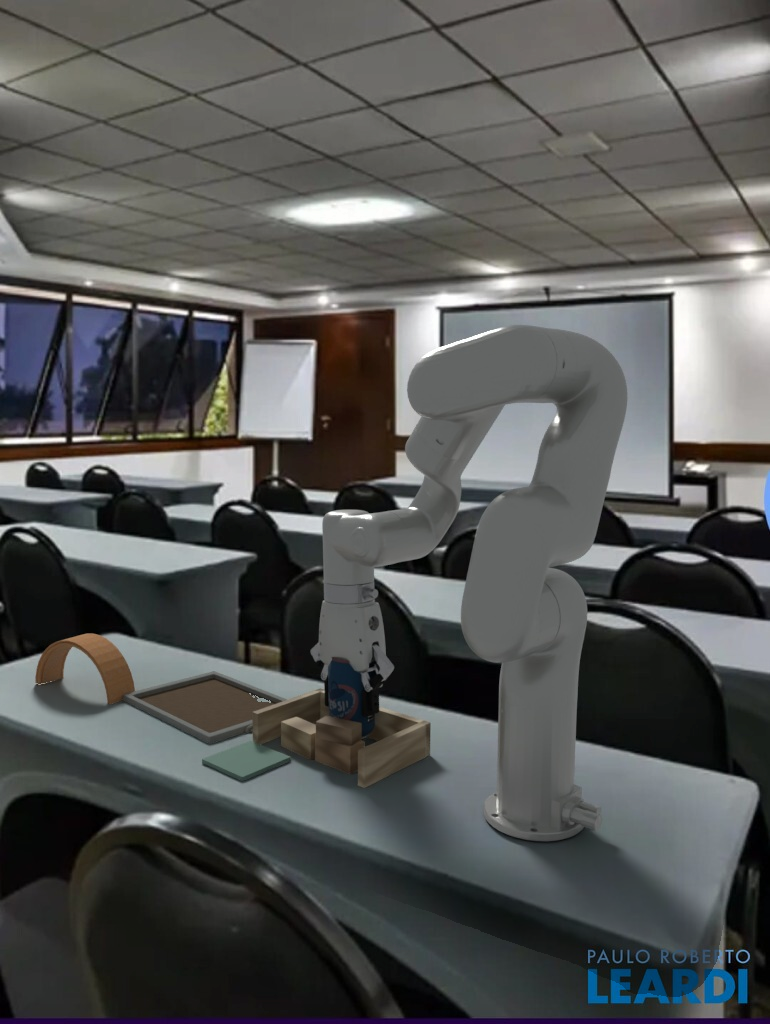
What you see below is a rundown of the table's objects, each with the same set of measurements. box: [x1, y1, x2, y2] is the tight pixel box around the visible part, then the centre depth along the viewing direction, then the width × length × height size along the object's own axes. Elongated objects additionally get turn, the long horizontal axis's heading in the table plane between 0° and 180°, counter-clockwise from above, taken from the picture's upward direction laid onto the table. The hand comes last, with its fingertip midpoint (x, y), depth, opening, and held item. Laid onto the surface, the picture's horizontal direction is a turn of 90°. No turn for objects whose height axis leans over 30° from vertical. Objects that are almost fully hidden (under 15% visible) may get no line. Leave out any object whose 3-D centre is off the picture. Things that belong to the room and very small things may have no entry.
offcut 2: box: [314, 735, 365, 775], centre depth 119 cm, size 7×3×4 cm, turn 50°
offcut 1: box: [280, 717, 316, 760], centre depth 124 cm, size 7×3×4 cm, turn 45°
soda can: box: [328, 657, 375, 739], centre depth 124 cm, size 7×7×12 cm
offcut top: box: [315, 716, 363, 746], centre depth 119 cm, size 6×3×2 cm, turn 62°
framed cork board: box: [122, 671, 288, 745], centre depth 142 cm, size 19×2×30 cm
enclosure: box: [252, 688, 431, 789], centre depth 124 cm, size 23×15×5 cm, turn 49°
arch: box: [35, 633, 136, 705], centre depth 150 cm, size 6×20×10 cm, turn 59°
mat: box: [201, 740, 292, 782], centre depth 120 cm, size 9×9×1 cm
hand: (351, 708), depth 124 cm, fingers closed on soda can, 7 cm apart
